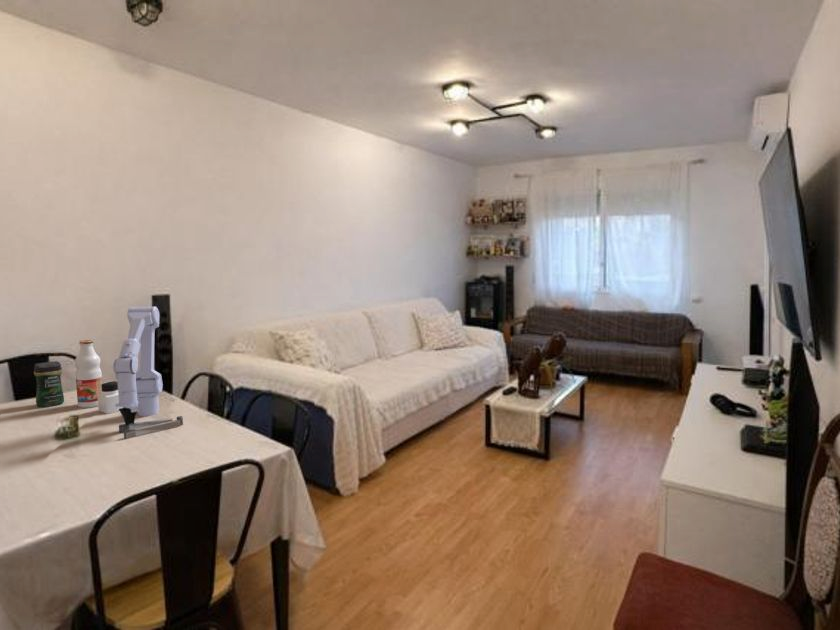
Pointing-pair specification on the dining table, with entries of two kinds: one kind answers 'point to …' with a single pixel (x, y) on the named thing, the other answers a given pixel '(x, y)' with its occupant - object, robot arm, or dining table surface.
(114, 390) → the medicine bottle
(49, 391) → the coffee jar
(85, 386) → the fruit juice
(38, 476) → the dining table surface
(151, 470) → the dining table surface
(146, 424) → the hinged tong arm
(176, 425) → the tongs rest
